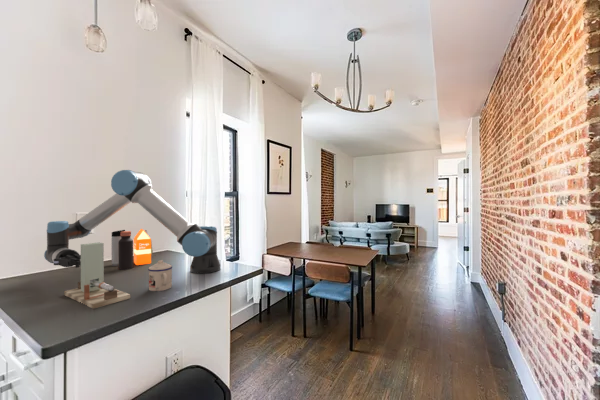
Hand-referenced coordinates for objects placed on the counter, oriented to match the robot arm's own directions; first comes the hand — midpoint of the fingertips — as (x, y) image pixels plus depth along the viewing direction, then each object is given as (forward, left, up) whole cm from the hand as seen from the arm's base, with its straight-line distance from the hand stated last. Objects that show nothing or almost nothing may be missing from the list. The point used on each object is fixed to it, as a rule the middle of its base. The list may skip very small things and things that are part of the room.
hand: (88, 263), depth 110 cm
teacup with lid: (-25, -7, -12) cm, 29 cm away
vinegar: (+14, -41, -12) cm, 45 cm away
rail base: (-5, +3, -12) cm, 13 cm away
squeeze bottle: (+19, -67, -12) cm, 71 cm away
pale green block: (-2, +1, -10) cm, 10 cm away
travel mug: (+24, -49, -12) cm, 56 cm away
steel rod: (-5, +3, -8) cm, 10 cm away
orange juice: (+13, -54, -12) cm, 57 cm away
